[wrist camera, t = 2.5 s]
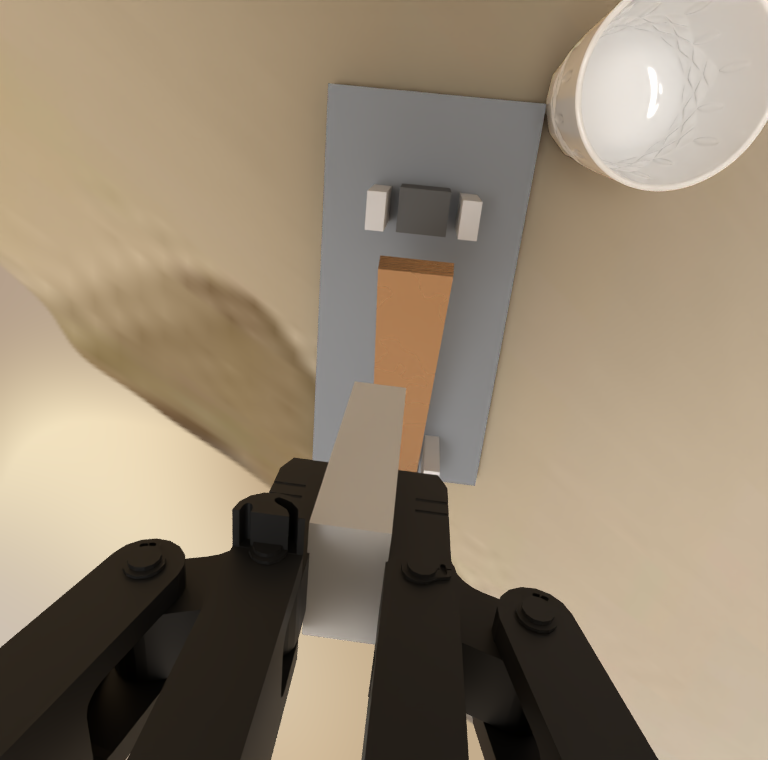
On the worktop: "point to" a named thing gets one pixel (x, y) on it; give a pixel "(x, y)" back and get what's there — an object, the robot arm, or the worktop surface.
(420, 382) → the strap
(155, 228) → the worktop surface
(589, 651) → the robot arm
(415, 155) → the mount
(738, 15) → the white cup
